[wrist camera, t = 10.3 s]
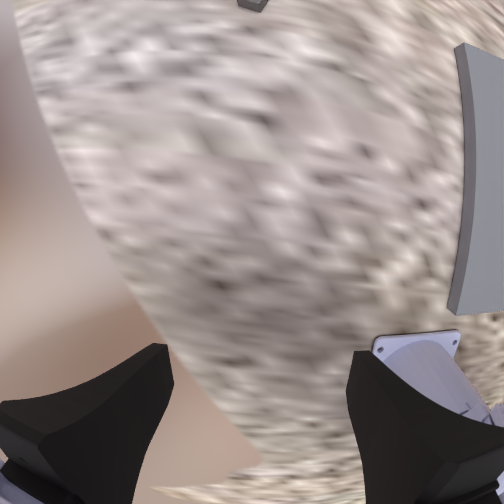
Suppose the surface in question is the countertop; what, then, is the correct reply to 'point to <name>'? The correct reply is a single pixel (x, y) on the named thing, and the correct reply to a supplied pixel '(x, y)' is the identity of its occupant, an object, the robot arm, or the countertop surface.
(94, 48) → the countertop surface
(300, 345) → the countertop surface
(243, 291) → the countertop surface
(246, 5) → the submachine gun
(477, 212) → the board
